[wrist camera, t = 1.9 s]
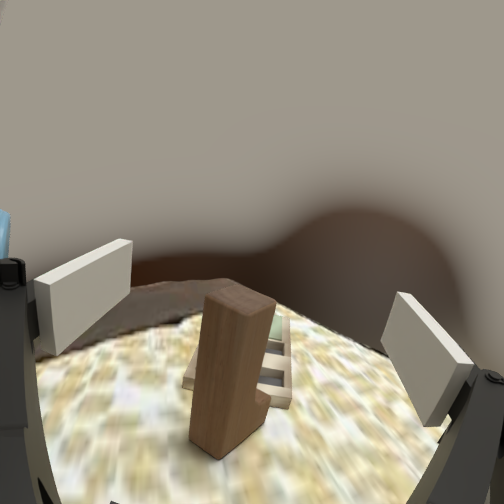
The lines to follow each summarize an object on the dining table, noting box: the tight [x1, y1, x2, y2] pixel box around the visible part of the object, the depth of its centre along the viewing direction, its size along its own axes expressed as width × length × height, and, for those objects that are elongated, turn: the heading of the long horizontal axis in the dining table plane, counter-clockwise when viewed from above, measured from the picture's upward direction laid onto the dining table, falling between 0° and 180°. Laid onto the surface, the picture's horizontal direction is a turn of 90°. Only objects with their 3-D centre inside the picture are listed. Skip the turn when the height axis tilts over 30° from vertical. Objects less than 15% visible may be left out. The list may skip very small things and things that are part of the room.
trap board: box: [182, 315, 292, 409], centre depth 50 cm, size 14×24×2 cm, turn 175°
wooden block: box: [189, 284, 276, 460], centre depth 31 cm, size 9×4×18 cm, turn 145°
